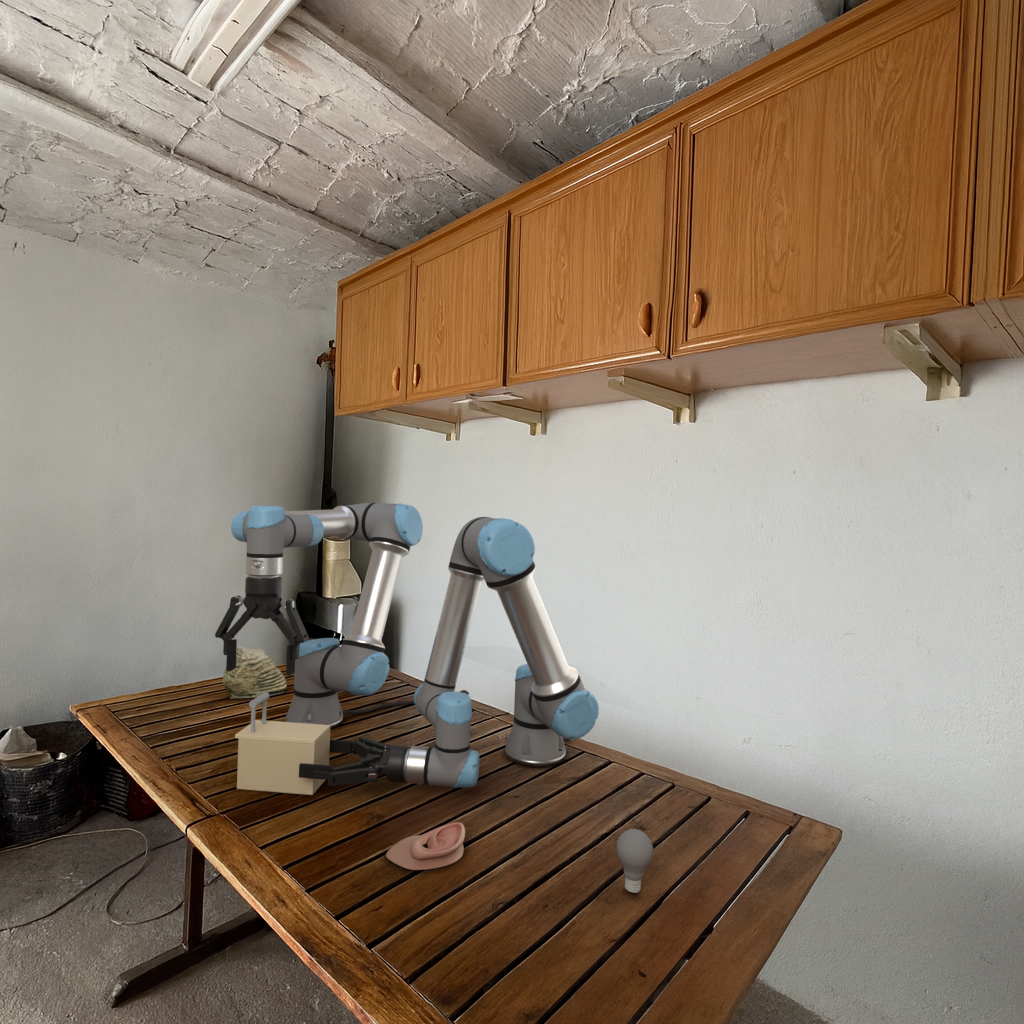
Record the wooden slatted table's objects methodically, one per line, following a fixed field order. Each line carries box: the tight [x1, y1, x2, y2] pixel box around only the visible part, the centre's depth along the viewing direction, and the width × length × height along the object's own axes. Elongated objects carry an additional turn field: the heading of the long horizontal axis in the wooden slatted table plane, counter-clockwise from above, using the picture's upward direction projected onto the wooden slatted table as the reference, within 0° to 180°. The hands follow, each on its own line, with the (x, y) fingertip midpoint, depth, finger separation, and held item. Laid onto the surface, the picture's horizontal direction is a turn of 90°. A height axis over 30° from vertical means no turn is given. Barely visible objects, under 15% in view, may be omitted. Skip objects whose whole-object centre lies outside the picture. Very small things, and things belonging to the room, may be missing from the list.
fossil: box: [222, 646, 288, 699], centre depth 198 cm, size 9×18×15 cm, turn 132°
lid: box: [234, 692, 331, 744], centre depth 139 cm, size 18×9×8 cm, turn 85°
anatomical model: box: [385, 821, 466, 871], centre depth 114 cm, size 13×4×12 cm
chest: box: [236, 729, 331, 796], centre depth 140 cm, size 17×9×11 cm, turn 85°
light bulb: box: [615, 828, 654, 894], centre depth 106 cm, size 6×6×10 cm
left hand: (260, 672), depth 140 cm, fingers open, 13 cm apart
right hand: (312, 757), depth 139 cm, fingers open, 13 cm apart
